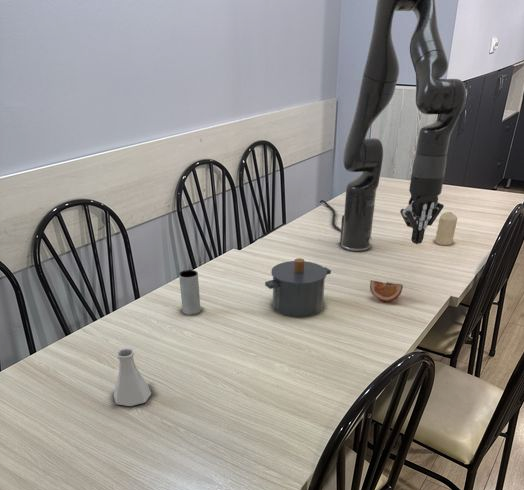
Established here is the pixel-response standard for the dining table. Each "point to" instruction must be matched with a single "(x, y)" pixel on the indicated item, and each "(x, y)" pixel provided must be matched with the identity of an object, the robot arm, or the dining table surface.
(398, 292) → the fruit slice
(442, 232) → the candle
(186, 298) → the gray cylinder
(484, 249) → the dining table surface
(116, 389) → the flask
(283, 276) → the pot lid
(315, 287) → the pot
